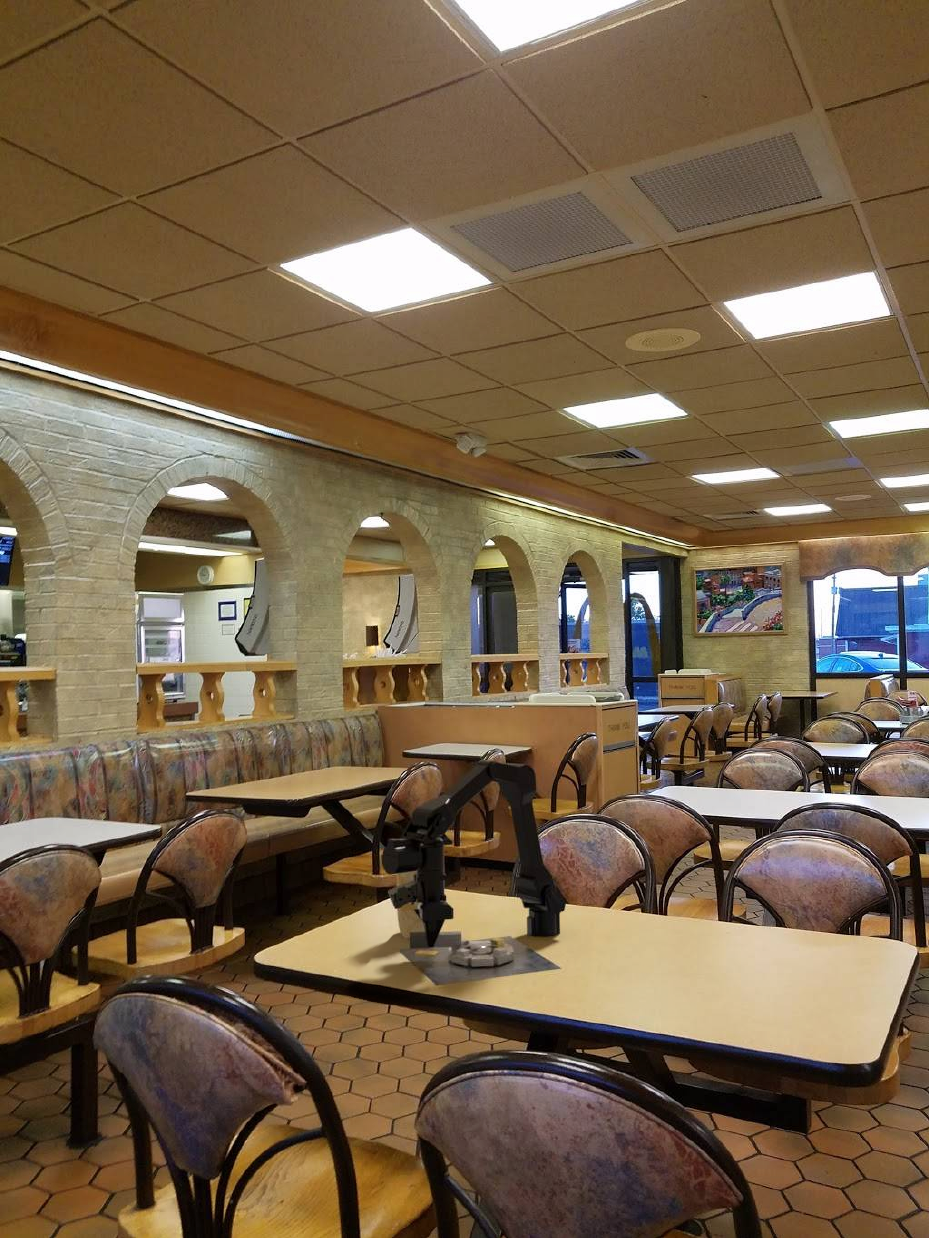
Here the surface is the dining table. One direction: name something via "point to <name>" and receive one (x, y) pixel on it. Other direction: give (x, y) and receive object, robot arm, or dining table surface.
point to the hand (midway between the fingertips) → (430, 947)
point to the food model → (408, 910)
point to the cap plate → (447, 972)
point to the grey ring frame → (465, 949)
